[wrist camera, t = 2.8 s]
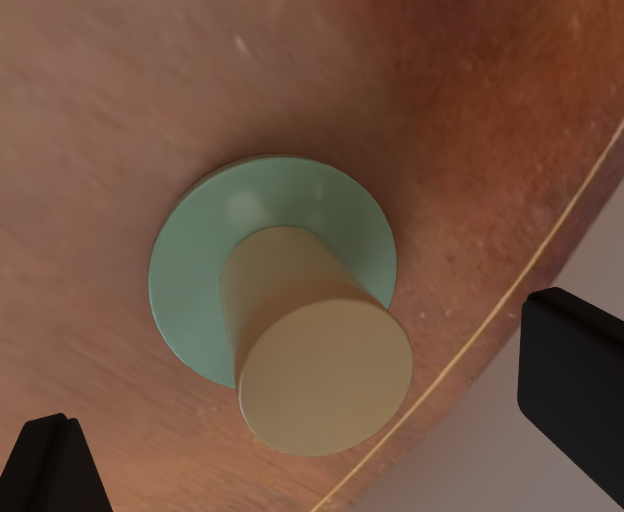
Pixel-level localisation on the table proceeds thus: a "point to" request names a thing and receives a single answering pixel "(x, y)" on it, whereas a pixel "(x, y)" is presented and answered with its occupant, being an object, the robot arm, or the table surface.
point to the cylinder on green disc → (285, 300)
